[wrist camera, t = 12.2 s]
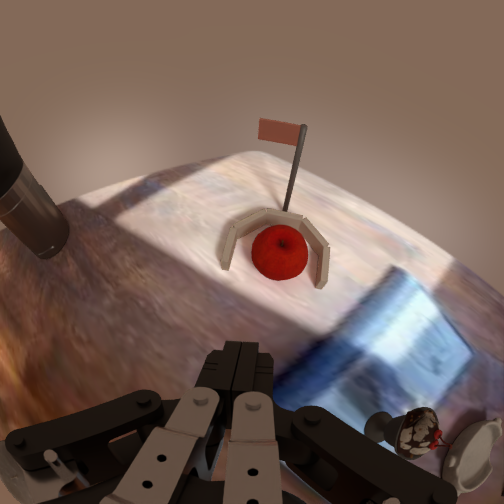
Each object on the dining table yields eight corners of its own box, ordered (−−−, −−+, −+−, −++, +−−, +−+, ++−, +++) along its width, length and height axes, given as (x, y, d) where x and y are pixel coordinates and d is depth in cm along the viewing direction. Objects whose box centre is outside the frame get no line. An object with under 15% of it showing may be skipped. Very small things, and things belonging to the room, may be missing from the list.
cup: (321, 289, 39) (371, 220, 23) (222, 269, 40) (212, 187, 24) (327, 220, 45) (363, 139, 29) (241, 202, 46) (243, 113, 30)
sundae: (389, 450, 27) (455, 465, 14) (352, 444, 28) (411, 466, 15) (403, 410, 30) (472, 408, 17) (367, 402, 31) (432, 402, 18)
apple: (268, 232, 44) (273, 204, 37) (311, 257, 42) (324, 232, 35) (239, 271, 40) (240, 246, 34) (286, 299, 38) (296, 279, 32)
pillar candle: (77, 428, 27) (9, 433, 13) (110, 483, 23) (53, 513, 10) (41, 441, 24) (-23, 444, 11) (70, 493, 20) (13, 514, 7)
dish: (487, 410, 28) (504, 408, 24) (484, 468, 22) (500, 469, 17) (436, 440, 27) (455, 442, 23) (433, 502, 21) (449, 508, 16)
